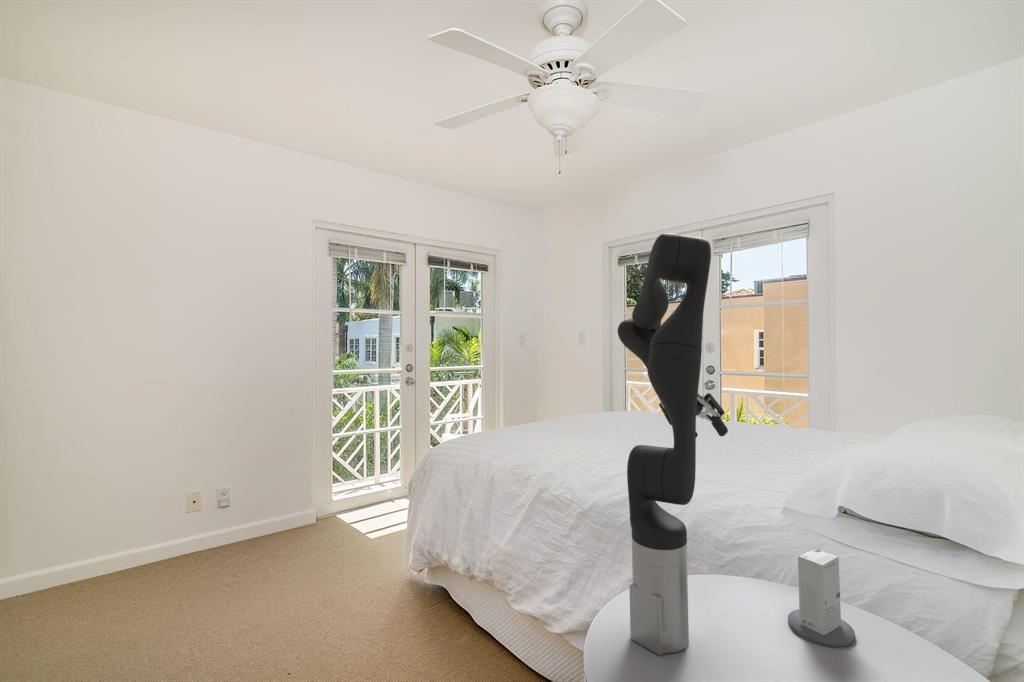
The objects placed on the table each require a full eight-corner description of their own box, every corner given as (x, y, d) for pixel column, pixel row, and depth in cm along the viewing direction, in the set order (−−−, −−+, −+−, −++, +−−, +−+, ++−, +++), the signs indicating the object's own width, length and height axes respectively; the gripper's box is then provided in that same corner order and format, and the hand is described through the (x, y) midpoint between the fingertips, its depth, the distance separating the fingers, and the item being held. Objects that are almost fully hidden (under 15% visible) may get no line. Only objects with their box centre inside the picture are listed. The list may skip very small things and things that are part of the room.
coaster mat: (843, 655, 79) (842, 650, 79) (778, 627, 87) (778, 623, 87) (863, 631, 85) (863, 626, 85) (801, 607, 93) (801, 602, 93)
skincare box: (824, 637, 83) (823, 566, 83) (797, 624, 87) (796, 556, 86) (842, 624, 86) (841, 556, 86) (815, 612, 90) (814, 547, 90)
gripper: (654, 369, 109) (693, 429, 99) (702, 366, 115) (744, 422, 105) (640, 391, 114) (675, 449, 104) (686, 387, 120) (724, 442, 110)
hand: (709, 436), depth 104 cm, fingers open, 8 cm apart
